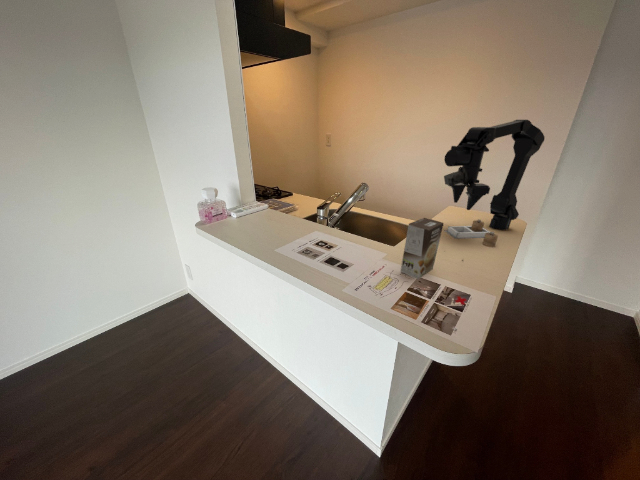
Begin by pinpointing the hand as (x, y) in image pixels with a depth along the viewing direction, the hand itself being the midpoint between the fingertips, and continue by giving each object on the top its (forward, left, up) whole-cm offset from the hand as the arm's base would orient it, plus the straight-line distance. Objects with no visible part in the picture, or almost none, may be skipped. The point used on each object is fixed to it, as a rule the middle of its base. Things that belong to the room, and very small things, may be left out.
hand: (461, 206), depth 100 cm
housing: (-6, 0, -13) cm, 14 cm away
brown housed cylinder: (-9, 0, -12) cm, 15 cm away
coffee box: (+26, +25, -13) cm, 39 cm away
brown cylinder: (-8, +10, -13) cm, 18 cm away
